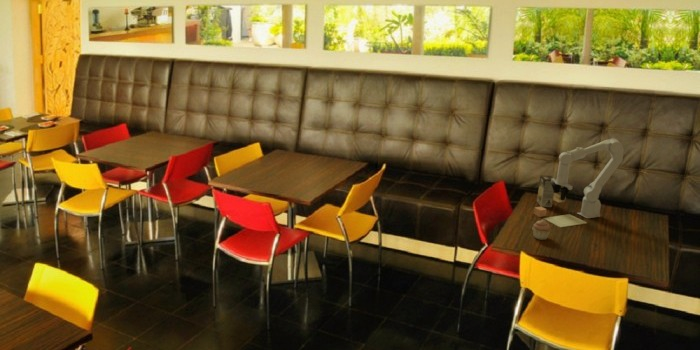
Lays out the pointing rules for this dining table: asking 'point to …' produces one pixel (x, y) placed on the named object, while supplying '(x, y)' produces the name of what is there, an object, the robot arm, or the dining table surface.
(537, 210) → the terracotta block
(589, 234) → the dining table surface
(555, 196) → the birch block
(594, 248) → the dining table surface
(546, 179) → the coffee box
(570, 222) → the pale green rectangular panel
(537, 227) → the cupcake
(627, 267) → the dining table surface
